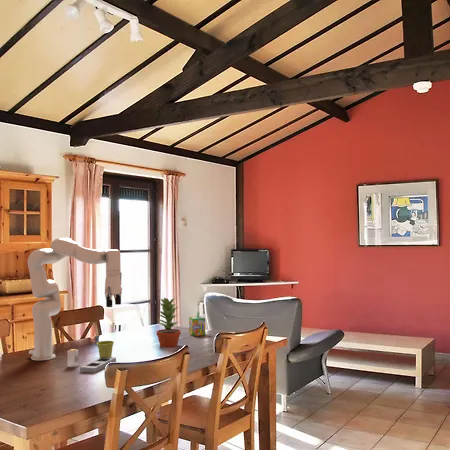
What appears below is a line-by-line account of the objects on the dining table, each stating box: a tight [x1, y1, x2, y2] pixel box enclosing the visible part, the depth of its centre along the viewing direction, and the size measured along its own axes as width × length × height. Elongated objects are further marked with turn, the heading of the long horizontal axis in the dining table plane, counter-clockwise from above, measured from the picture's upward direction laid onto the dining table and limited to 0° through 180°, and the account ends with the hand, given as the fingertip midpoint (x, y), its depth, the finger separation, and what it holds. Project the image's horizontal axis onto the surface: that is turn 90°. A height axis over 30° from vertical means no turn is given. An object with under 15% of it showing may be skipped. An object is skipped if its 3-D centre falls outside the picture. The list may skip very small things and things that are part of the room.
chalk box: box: [188, 311, 206, 337], centre depth 346 cm, size 9×9×15 cm
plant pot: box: [96, 340, 115, 358], centre depth 283 cm, size 9×9×9 cm
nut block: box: [67, 348, 80, 368], centre depth 267 cm, size 4×4×8 cm
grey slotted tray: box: [79, 356, 117, 374], centre depth 264 cm, size 8×22×2 cm, turn 164°
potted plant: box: [156, 297, 181, 349], centre depth 313 cm, size 15×15×30 cm
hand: (113, 305), depth 273 cm, fingers open, 9 cm apart
